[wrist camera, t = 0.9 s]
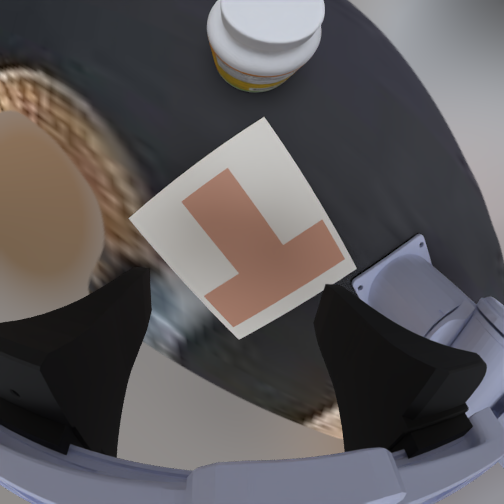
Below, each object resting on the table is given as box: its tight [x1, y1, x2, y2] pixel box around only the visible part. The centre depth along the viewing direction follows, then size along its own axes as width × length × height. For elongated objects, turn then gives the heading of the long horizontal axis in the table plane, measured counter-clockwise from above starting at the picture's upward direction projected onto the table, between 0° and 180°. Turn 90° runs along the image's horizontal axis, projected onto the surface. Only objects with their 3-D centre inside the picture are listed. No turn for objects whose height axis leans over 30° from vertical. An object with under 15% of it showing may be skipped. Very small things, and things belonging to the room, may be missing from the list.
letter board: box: [129, 117, 357, 339], centre depth 21 cm, size 14×12×1 cm
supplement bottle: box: [207, 0, 325, 92], centre depth 12 cm, size 5×5×10 cm
